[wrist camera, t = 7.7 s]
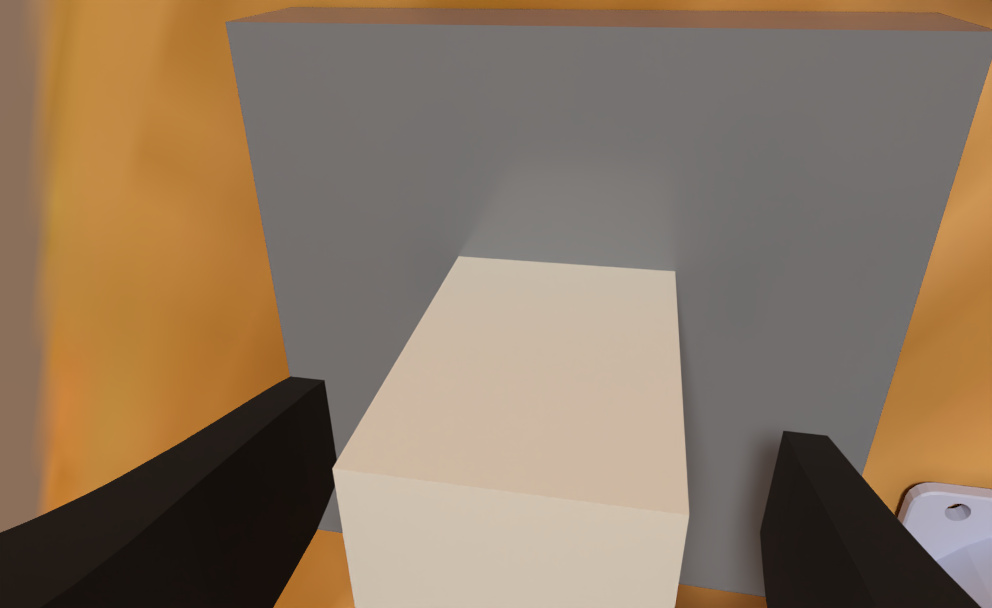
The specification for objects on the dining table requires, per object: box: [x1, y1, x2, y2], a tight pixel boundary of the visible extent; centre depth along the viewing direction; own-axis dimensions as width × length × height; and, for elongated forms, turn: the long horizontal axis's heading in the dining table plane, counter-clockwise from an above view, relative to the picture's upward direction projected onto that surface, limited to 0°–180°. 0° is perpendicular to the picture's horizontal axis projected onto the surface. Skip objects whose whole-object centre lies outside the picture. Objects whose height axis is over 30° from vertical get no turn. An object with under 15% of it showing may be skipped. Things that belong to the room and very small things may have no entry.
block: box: [332, 256, 689, 608], centre depth 11 cm, size 4×4×6 cm
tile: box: [226, 7, 992, 597], centre depth 15 cm, size 12×12×2 cm
